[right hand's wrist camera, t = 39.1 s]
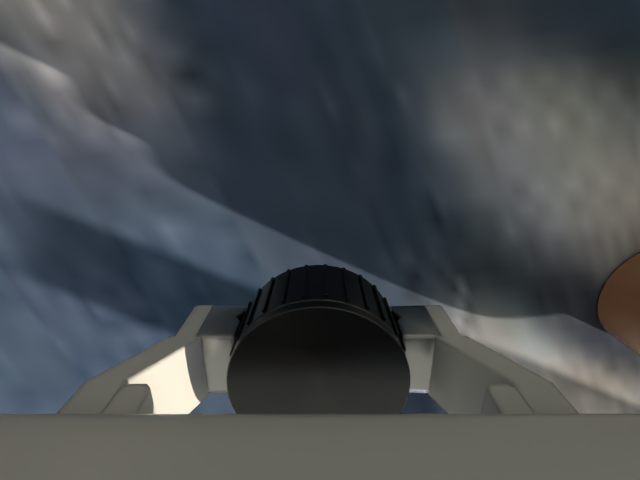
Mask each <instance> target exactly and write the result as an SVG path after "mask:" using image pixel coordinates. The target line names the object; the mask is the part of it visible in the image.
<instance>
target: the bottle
mask: <svg viewBox="0 0 640 480" xmlns="http://www.w3.org/2000/svg"><path fill="white" fill-rule="evenodd" d="M598 317H599V320H600V323H601V324H602V326H603V328H604V329H605V330H606V331H607V332H608V333H609V334H610V335H611V336H613V337H614V338H616V339H617V340H618V341H620V342H621V343H622V344H624V345H625V346H626V347H628V348H629V349H630V350H632V351H633V352H634V353H636V354H637V355H639V356H640V253H638V254H636V255H635V256H633V257H631V258H630V259H628V260H627V261H626V262H624V263H623V264H622V265H621V266H620V267H618V268H617V269H616V270H615V271H614V273H613V274H612V275H611V276H610V277H609V279H608V280H607V282H606V283H605V285H604V287H603V289H602V291H601V293H600V296H599V300H598Z"/></svg>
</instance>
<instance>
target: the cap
mask: <svg viewBox="0 0 640 480" xmlns="http://www.w3.org/2000/svg"><path fill="white" fill-rule="evenodd" d="M235 340H237V341H236V344H235V346H234V347H232V349H231V351H230V355H229V356H231V357H230V360H229V364H228V367H227V375H226V383H227V391H228V395H229V399H230V401H231V404H232V406H233V408H234V410H235V412H236V413H237V414H400V413H401V412H402V410H403V408H404V406H405V404H406V401H407V398H408V395H409V390H410V369H409V364H408V361H407V358H406V355H405V352H406V348H405V345H404V342H402V340H401V337H400V334H399V332H398V329H397V323H396V321H395V318H394V317H393V315H392V313H391V310H390V308H389V305H388V302H387V299H386V298H383V297H382V295H381V294H380V292H379V291H378V290H377V288H376V286H375V285H372V284H371V283H369V282H368V281H367V280H366V279H364V278H363V277H362V275H357V274H355V273H353V272H351V271H348V270H346V269H345V268H339V267H333V266H327V265H326V264H324V265H312V266H308V265H305V266H304V267H299V268H295V269H292V270H290V269H288V270H287V271H286V272H284V273H282V274H280V275H278V276H277V277H275V278H273V277H272V278H271V280H270V281H269V282H268V283H267V284H266V285H264V286H263V287H262V288H261V289H260V288H259V289H258V291H257V294H256V296H255V297H254V299H253V300H252V302H249V304H248V306H247V309H246V312H245V314H244V317H243V319H242V322H241V325H240V327H239V330H238V332H237V335H236V338H235Z"/></svg>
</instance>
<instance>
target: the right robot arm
mask: <svg viewBox="0 0 640 480" xmlns="http://www.w3.org/2000/svg"><path fill="white" fill-rule="evenodd" d="M389 308H390V310H391V313H392V315H393V317H394V318H395V321H396V323H397V329H398V332H399V334H400V337H401V340H402V342H404V345H405V348H406V352H405V355H406V358H407V361H408V364H409V369H410V390H409V393H428V395H429V396H430V397H431V398H433V399H434V400H435V401H436V402H437V403H438V404H439V405H440V406H441V407H442V408H443V409H444V410H445V411H446V412H447V413H448V414H189V413H190V412H191V411H192V410H193V409H194V408H195V407H196V406H197V405H198V404H199V403H200V402H201V401H203V400H204V399H205V398H206V397H207V396H208V393H228V391H227V383H226V375H227V367H228V364H229V360H230V357H231V356H229V355H230V351H231V349H232V347H234V346H235V344H236V341H237V340H235V338H236V335H237V332H238V330H239V327H240V325H241V322H242V319H243V317H244V314H245V312H246V309H247V306H222V305H215V306H214V305H198V306H195V307H194V309H193V310H192V312H191V313H190V315H189V316H188V318H187V319H186V321H185V322H184V324H183V325H182V327H181V328H180V330H179V331H178V333H177V334H176V336H175V337H168V338H166V339H164V340H162V341H161V342H159V343H157V344H155V345H153V346H151V347H149V348H148V349H146V350H144V351H142V352H140V353H138V354H136V355H134V356H133V357H131V358H129V359H127V360H125V361H123V362H121V363H119V364H118V365H116V366H114V367H112V368H110V369H108V370H106V371H104V372H103V373H101V374H99V375H97V376H95V377H93V378H91V379H90V380H88V381H86V382H84V383H83V384H82V385H81V387H80V388H79V389H78V390H77V391H76V392H75V393H74V394H73V396H72V397H71V398H70V399H69V400H68V401H67V402H66V403H65V405H64V406H63V407H62V408H61V409H60V410H59V411H58V412H57V414H0V480H640V414H579V413H578V412H577V411H576V409H575V408H574V407H573V406H572V405H571V404H570V403H569V401H568V400H567V399H566V398H565V397H564V396H563V394H562V393H561V392H560V391H559V390H558V389H557V388H556V386H555V385H554V384H553V383H552V382H550V381H548V380H546V379H544V378H543V377H541V376H539V375H537V374H535V373H533V372H531V371H530V370H528V369H526V368H524V367H522V366H520V365H519V364H517V363H515V362H513V361H511V360H509V359H507V358H506V357H504V356H502V355H500V354H498V353H496V352H495V351H493V350H491V349H489V348H487V347H485V346H483V345H482V344H480V343H478V342H476V341H474V340H472V339H470V338H469V337H462V336H461V335H460V333H459V332H458V330H457V329H456V327H455V326H454V324H453V322H452V321H451V319H450V318H449V316H448V315H447V313H446V312H445V310H444V309H443V307H442V306H440V305H426V306H391V307H389Z"/></svg>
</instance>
